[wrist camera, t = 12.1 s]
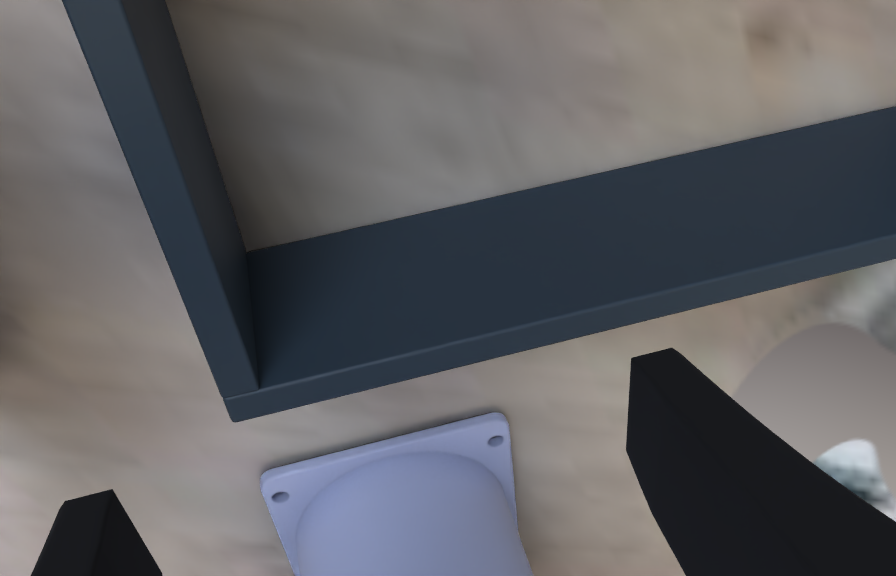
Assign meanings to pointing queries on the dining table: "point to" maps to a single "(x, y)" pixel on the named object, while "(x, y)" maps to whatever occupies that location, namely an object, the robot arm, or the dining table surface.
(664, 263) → the bin
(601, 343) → the dining table surface
